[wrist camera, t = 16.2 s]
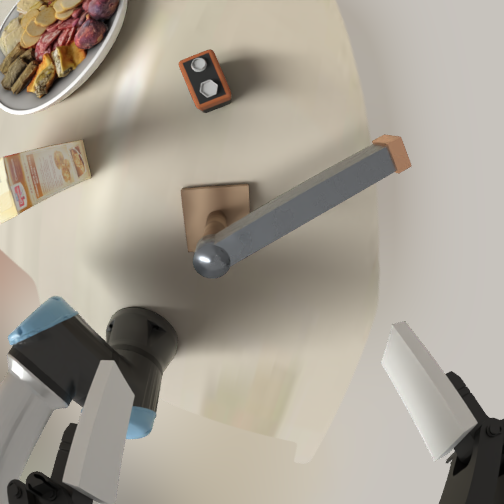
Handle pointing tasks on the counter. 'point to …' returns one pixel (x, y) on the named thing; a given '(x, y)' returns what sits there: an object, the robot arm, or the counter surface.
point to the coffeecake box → (39, 175)
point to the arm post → (212, 209)
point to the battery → (205, 81)
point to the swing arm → (299, 205)
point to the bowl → (53, 49)
